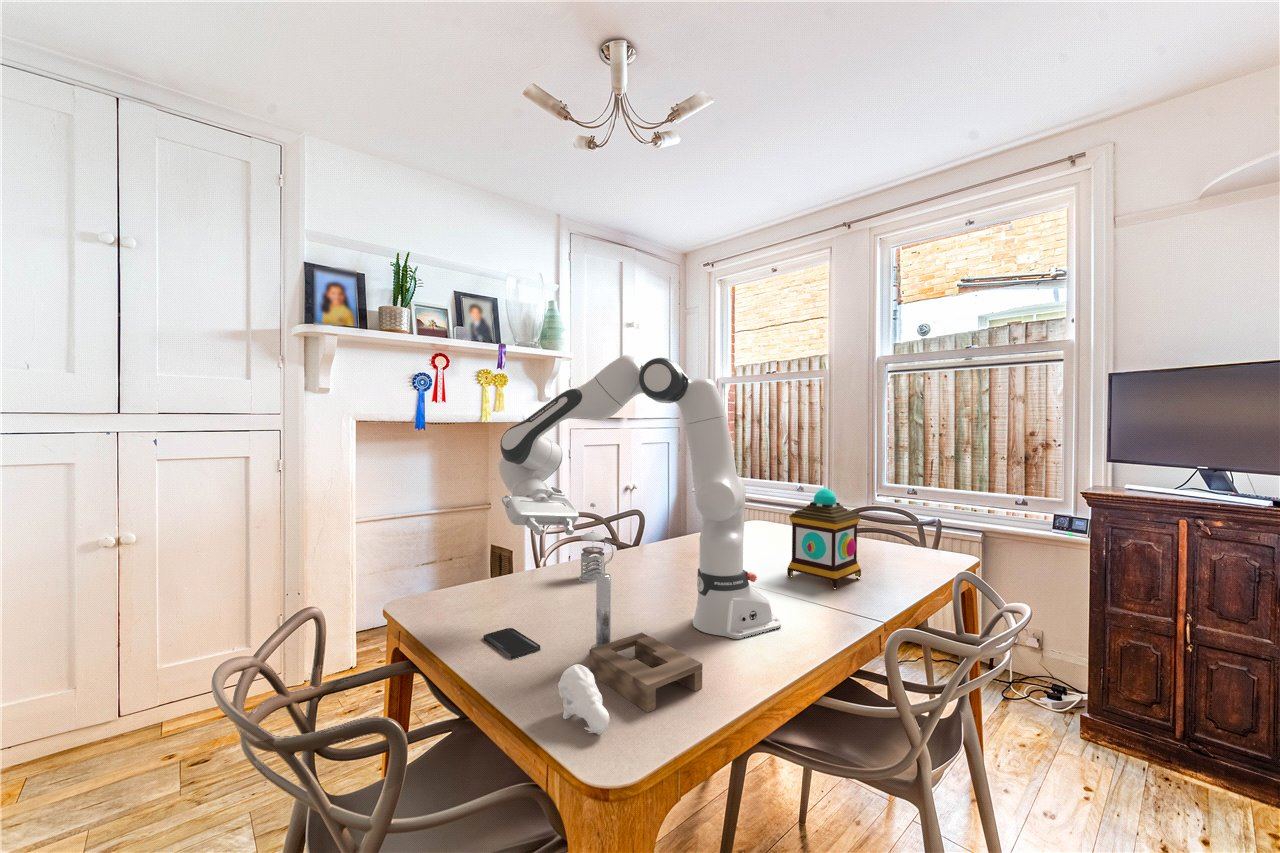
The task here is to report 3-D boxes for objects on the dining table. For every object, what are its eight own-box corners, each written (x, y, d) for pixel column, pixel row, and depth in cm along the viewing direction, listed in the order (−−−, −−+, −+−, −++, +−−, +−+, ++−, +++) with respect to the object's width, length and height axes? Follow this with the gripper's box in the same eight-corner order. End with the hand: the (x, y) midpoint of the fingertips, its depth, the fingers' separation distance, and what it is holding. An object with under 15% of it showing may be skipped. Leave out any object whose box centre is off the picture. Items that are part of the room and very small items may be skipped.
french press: (577, 574, 180) (578, 500, 180) (612, 573, 182) (612, 500, 181) (577, 583, 171) (577, 505, 170) (614, 582, 172) (614, 505, 171)
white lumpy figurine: (586, 656, 100) (621, 689, 90) (584, 699, 101) (618, 736, 91) (556, 665, 96) (589, 700, 87) (553, 709, 97) (586, 749, 87)
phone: (511, 627, 134) (542, 646, 122) (511, 631, 134) (542, 651, 122) (481, 635, 129) (510, 656, 117) (481, 640, 129) (510, 661, 117)
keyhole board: (589, 672, 112) (589, 649, 111) (641, 654, 120) (641, 632, 120) (647, 712, 97) (647, 685, 97) (702, 688, 106) (702, 663, 105)
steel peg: (611, 648, 123) (612, 570, 123) (618, 658, 118) (619, 577, 118) (588, 651, 122) (588, 572, 121) (594, 662, 116) (594, 580, 116)
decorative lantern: (781, 577, 178) (781, 487, 177) (811, 566, 192) (812, 482, 191) (838, 592, 163) (839, 494, 163) (867, 579, 177) (868, 488, 176)
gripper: (504, 486, 134) (527, 523, 125) (567, 490, 149) (592, 524, 140) (494, 505, 136) (515, 543, 127) (557, 508, 151) (581, 542, 142)
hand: (556, 533), depth 134 cm, fingers open, 8 cm apart
